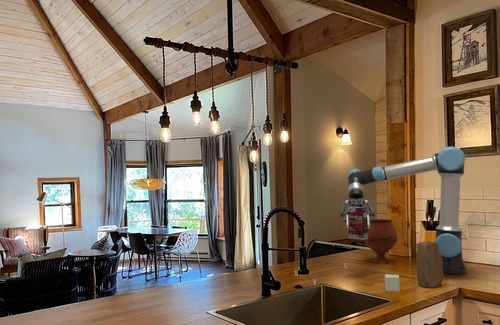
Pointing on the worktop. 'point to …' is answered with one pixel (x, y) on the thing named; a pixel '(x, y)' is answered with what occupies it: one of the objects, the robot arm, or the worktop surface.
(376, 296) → the worktop surface
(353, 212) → the supplement box
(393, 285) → the sage cube
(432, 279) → the block
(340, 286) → the worktop surface
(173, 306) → the worktop surface
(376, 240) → the goblet
